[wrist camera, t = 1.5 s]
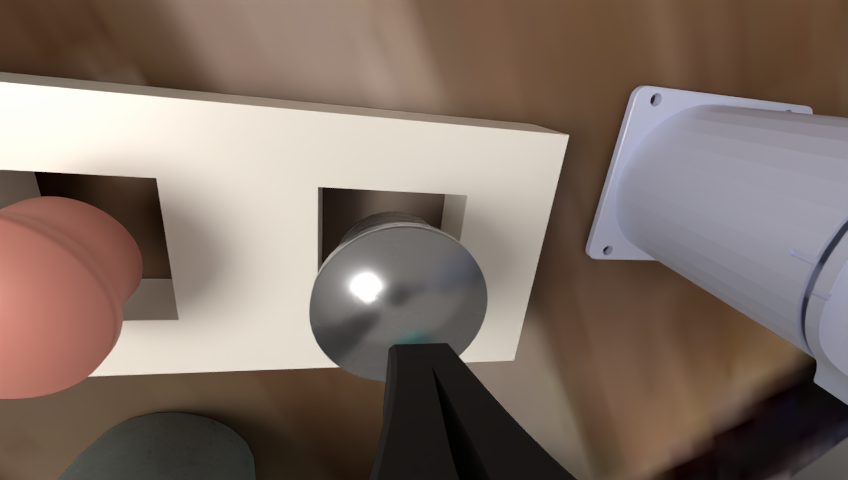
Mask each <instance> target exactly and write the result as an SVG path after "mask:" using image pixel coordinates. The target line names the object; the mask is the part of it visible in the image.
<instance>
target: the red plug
mask: <svg viewBox="0 0 848 480" xmlns="http://www.w3.org/2000/svg"><path fill="white" fill-rule="evenodd" d="M142 275H143V260H142V256H141V253H140V250H139V248H138V245H137V244H136V242H135V240H134V239H133V237H132V236H131V235H130V233H129V232H128V231H127V230H126V229H125V228H124V227H123V226H122V225H121V224H120V223H119V222H118V221H117V220H115V219H114V218H113V217H112V216H110V215H108V214H107V213H105V212H104V211H102V210H100V209H98V208H96V207H94V206H92V205H89V204H87V203H84V202H81V201H78V200H74V199H69V198H64V197H55V196H42V197H34V198H29V199H25V200H22V201H19V202H17V203H14V204H12V205H10V206H7V207H5V208H2V209H0V399H20V398H31V397H38V396H43V395H48V394H52V393H55V392H59V391H62V390H64V389H66V388H69V387H71V386H73V385H75V384H77V383H79V382H81V381H82V380H84V379H85V378H86V377H88V376H89V375H90V374H92V373H93V372H94V371H95V370H96V369H97V368H98V367H99V366H100V364H101V363H102V362H103V361H104V360H105V358H106V357H107V356H108V355H109V354H110V352H111V351H112V349H113V348H114V346H115V345H116V343H117V341H118V339H119V336H120V333H121V329H122V325H123V311H122V305H123V304H124V303H125V302H126V301H127V300H128V299H129V298H130V297H131V296H132V295H133V293H134V292H135V291H136V289H137V288H138V286H139V284H140V282H141V279H142Z"/></svg>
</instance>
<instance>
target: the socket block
mask: <svg viewBox="0 0 848 480" xmlns="http://www.w3.org/2000/svg"><path fill="white" fill-rule="evenodd" d="M568 138H569V135H567V134H564V133H561V132H557V131H554V130H551V129H547V128H544V127H541V126H538V125H534V124H527V123H517V122H507V121H496V120H486V119H476V118H466V117H455V116H445V115H435V114H425V113H415V112H404V111H394V110H384V109H374V108H364V107H353V106H343V105H333V104H323V103H312V102H302V101H292V100H282V99H272V98H261V97H251V96H241V95H231V94H221V93H210V92H200V91H190V90H180V89H170V88H159V87H149V86H139V85H129V84H118V83H108V82H98V81H88V80H78V79H67V78H57V77H47V76H37V75H27V74H16V73H6V72H0V209H2V208H5V207H7V206H10V205H12V204H14V203H17V202H19V201H22V200H25V199H29V198H34V197H41V194H40V191H39V187H38V184H37V180H36V177H35V173H34V171H36V172H55V173H73V174H91V175H109V176H127V177H145V178H156V180H157V186H158V192H159V199H160V205H161V211H162V217H163V224H164V230H165V236H166V243H167V249H168V255H169V261H170V268H171V274H172V279H141V282H140V284H139V286H138V288H137V289H136V291H135V292H134V293H133V295H132V296H131V297H130V298H129V299H128V300H127V301H126V302H125V303H124V304H123V305H122V311H123V325H122V329H121V333H120V336H119V339H118V341H117V343H116V345H115V346H114V348H113V349H112V351H111V352H110V354H109V355H108V356H107V357H106V358H105V360H104V361H103V362H102V363H101V364H100V366H99V367H98V368H97V369H96V370H95V371H94V372H93V373H92V374H90V375H89V376H112V375H139V374H166V373H193V372H220V371H246V370H273V369H300V368H327V367H339V366H338V365H336V364H335V363H334V362H333V361H331V360H330V359H329V358H328V357H327V356H326V355H325V353H324V352H323V351H322V350H321V348H320V347H319V345H318V344H317V342H316V340H315V337H314V335H313V333H312V329H311V325H310V318H309V307H310V298H311V292H312V288H313V284H314V281H315V278H316V276H317V273H318V271H319V270H320V268H321V266H322V214H323V187H327V188H345V189H363V190H381V191H399V192H418V193H436V194H445V200H444V208H443V215H442V223H441V230H442V231H444V232H446V233H448V234H450V235H452V236H453V237H454V238H456V239H457V240H458V241H460V242H461V243H462V244H463V245H464V246H465V247H466V248H467V249H468V251H469V252H470V254H471V255H472V256H473V258H474V259H475V261H476V262H477V264H478V265H479V267H480V269H481V271H482V273H483V276H484V279H485V282H486V287H487V297H488V302H487V310H486V314H485V318H484V321H483V324H482V326H481V328H480V330H479V332H478V334H477V336H476V337H475V339H474V340H473V341H472V343H471V344H470V345H469V347H468V348H467V349H466V350H465V351H464V352H463V353H462V354H461V355H460V356H459V357H460V358H461V360H462V361H463V362H489V361H514V358H515V354H516V350H517V346H518V341H519V337H520V333H521V329H522V325H523V321H524V317H525V313H526V309H527V305H528V301H529V297H530V293H531V289H532V285H533V281H534V276H535V272H536V268H537V264H538V260H539V256H540V252H541V248H542V244H543V240H544V236H545V232H546V228H547V224H548V220H549V216H550V211H551V207H552V203H553V199H554V195H555V191H556V187H557V183H558V179H559V175H560V171H561V167H562V163H563V159H564V155H565V151H566V146H567V142H568Z"/></svg>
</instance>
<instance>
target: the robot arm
mask: <svg viewBox="0 0 848 480" xmlns="http://www.w3.org/2000/svg"><path fill="white" fill-rule="evenodd" d="M653 95H655V100H654V102H653V104H651V103H650V100H651V98H652V96H653ZM607 246H608V248H607V250H606V251H604V252H603V250H604V248H605V247H607ZM585 251H586V254H587V255H589V256H590V257H591V258H593V259H613V260H657V261H659V262H661V263H662V264H664V265H665V266H667V267H669V268H670V269H672V270H674V271H675V272H677V273H678V274H680V275H682V276H683V277H685V278H686V279H688V280H690V281H691V282H693V283H694V284H696V285H698V286H699V287H701V288H702V289H704V290H706V291H707V292H709V293H711V294H712V295H714V296H715V297H717V298H719V299H720V300H722V301H723V302H725V303H727V304H728V305H730V306H731V307H733V308H735V309H736V310H738V311H739V312H741V313H743V314H744V315H746V316H747V317H749V318H751V319H752V320H754V321H756V322H757V323H759V324H760V325H762V326H764V327H765V328H767V329H768V330H770V331H772V332H773V333H775V334H776V335H778V336H780V337H781V338H783V339H784V340H786V341H788V342H789V343H791V344H793V345H794V346H796V347H797V348H799V349H801V350H802V351H804V352H805V353H807V354H809V355H810V356H812V357H813V358H815V359H816V360H817V370H816V374H815V377H814V382H815V383H816V384H818V385H819V386H820V387H822V388H823V389H825V390H826V391H828V392H829V393H831V394H832V395H834V396H835V397H837V398H838V399H840V400H841V401H843V402H844V403H846V404H847V405H848V118H844V117H834V116H824V115H814V114H813V111H812V109H811V107H808V106H802V105H794V104H786V103H778V102H771V101H763V100H755V99H747V98H739V97H732V96H724V95H716V94H708V93H701V92H693V91H685V90H677V89H669V88H662V87H654V86H639V87H637V88H635V90H634V91H633V92H632V94H631V96H630V99H629V102H628V105H627V109H626V112H625V116H624V119H623V122H622V126H621V129H620V133H619V136H618V139H617V143H616V146H615V150H614V153H613V156H612V160H611V163H610V167H609V170H608V173H607V177H606V180H605V184H604V187H603V190H602V194H601V197H600V201H599V204H598V207H597V211H596V214H595V218H594V221H593V224H592V228H591V231H590V235H589V238H588V241H587V245H586V250H585ZM369 480H577V479H576V478H575V477H573V476H572V475H571V474H570V473H569V472H568V471H567V470H565V469H564V468H563V467H562V466H561V465H560V464H559V463H558V462H557V461H556V460H555V459H553V458H552V457H551V456H550V455H549V454H548V453H547V452H546V451H545V450H544V449H543V448H542V447H541V446H540V445H539V444H538V443H537V442H536V441H535V440H534V439H533V438H532V437H531V436H530V435H529V434H528V433H527V432H526V431H525V430H524V429H523V428H522V427H521V426H520V425H519V424H518V423H517V422H516V421H515V420H514V419H513V417H512V416H511V415H510V414H509V413H508V412H507V411H506V410H505V409H504V408H503V407H502V406H501V404H500V403H499V402H498V401H497V400H496V399H495V398H494V397H493V396H492V395H491V393H490V392H489V391H488V390H487V389H486V388H485V387H484V386H483V384H482V383H481V382H480V381H479V380H478V379H477V377H476V376H475V375H474V374H473V373H472V371H471V370H470V369H469V368H468V367H467V366H466V364H465V363H464V362H463V361H462V360H461V358H460V357H459V356H458V355H457V354H456V352H455V351H454V350H453V349H452V348H451V347H450V345H449V344H448V343H429V344H394V345H393V346H392V347H390V348H389V350H388V361H387V372H386V383H385V394H384V405H383V428H382V432H381V436H380V440H379V444H378V448H377V452H376V456H375V460H374V464H373V468H372V471H371V475H370V478H369Z"/></svg>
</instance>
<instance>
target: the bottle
mask: <svg viewBox="0 0 848 480" xmlns="http://www.w3.org/2000/svg"><path fill="white" fill-rule="evenodd" d="M58 480H256V479H255V466H254V457H253V455H252V453H251V451H250V449H249V447H248V444H247V442H246V441H245V440H243V439H242V438H241V437H240V436H239V435H238V434H237V433H236V432H235V431H234V430H233V429H232V428H229V427H227V426H225V425H223V424H221V423H219V422H217V421H215V420H213V419H211V418H207V417H202V416H198V415H193V414H188V413H153V414H149V415H144V416H140V417H136V418H132V419H128V420H127V421H125V422H123V423H121V424H119V425H117V426H115V427H113V428H111V429H110V430H108V431H106V432H105V433H104V434H103V435H102V436H101V437H100V438H98V439H97V440H96V441H95V442H94V443H93V444H92V445H90V446H89V447H88V448H87V449H86V450H85V451H83V452H82V453H81V454H80V455H79V456H78V458H77V459H76V460H75V461H74V462H73V463H72V464H71V465H70V466H69V467H68V468H67V469H66V471H65V472H64V473H63V474H62V475H61V476H60V477H59V479H58Z"/></svg>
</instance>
